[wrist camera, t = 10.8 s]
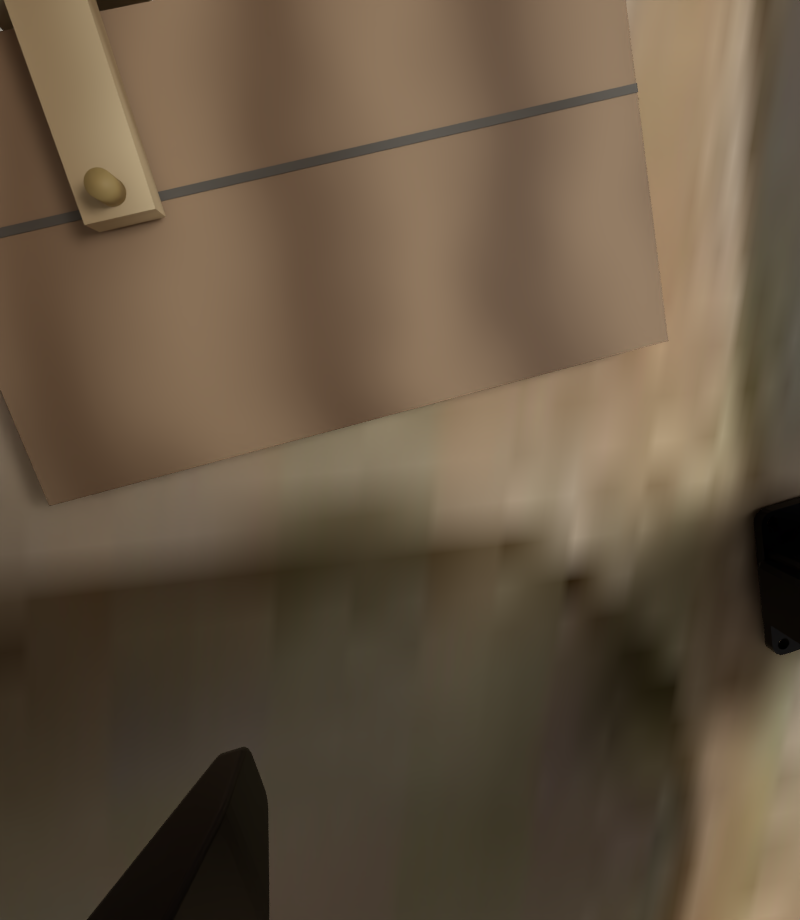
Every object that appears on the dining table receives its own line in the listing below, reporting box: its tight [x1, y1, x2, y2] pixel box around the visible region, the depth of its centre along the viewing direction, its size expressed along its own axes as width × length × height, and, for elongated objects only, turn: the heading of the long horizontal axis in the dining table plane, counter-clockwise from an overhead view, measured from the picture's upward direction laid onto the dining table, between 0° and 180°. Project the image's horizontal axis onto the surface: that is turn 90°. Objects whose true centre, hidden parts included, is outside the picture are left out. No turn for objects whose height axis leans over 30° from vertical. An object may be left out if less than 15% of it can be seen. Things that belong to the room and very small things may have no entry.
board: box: [0, 0, 668, 506], centre depth 17 cm, size 20×12×2 cm, turn 104°
